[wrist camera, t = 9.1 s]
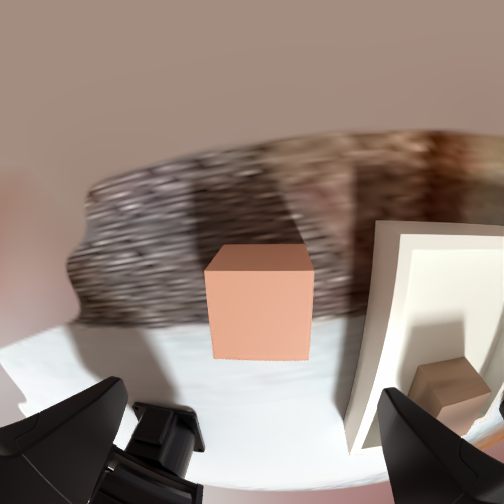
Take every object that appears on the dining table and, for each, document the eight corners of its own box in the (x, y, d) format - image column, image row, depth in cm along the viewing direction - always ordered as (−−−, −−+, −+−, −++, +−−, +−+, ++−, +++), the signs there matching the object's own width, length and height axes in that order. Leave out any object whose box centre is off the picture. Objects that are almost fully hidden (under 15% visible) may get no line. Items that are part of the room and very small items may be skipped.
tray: (471, 396, 20) (486, 419, 16) (343, 422, 21) (349, 455, 17) (522, 227, 15) (552, 238, 11) (375, 220, 16) (400, 234, 12)
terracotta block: (302, 315, 19) (308, 360, 14) (228, 315, 19) (213, 358, 14) (304, 243, 17) (314, 270, 13) (224, 244, 18) (204, 270, 13)
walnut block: (446, 398, 19) (466, 434, 14) (401, 408, 19) (418, 449, 14) (464, 356, 17) (491, 391, 13) (418, 365, 18) (442, 407, 13)
